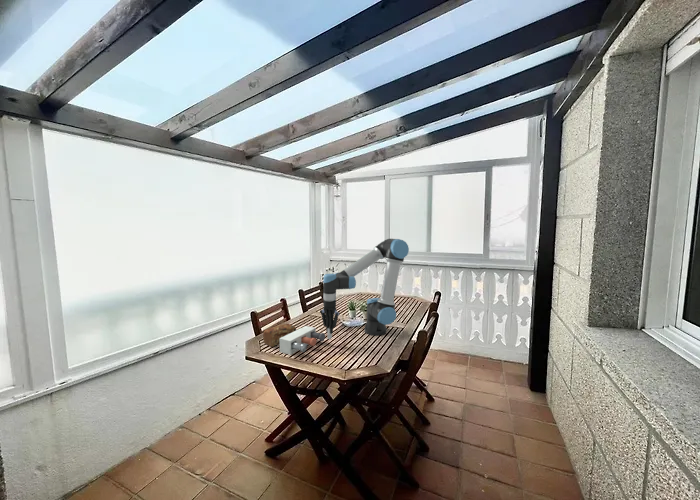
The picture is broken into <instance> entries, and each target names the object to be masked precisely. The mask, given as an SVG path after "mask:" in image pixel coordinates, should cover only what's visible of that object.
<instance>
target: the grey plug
mask: <svg viewBox="0 0 700 500" xmlns="http://www.w3.org/2000/svg"><path fill="white" fill-rule="evenodd" d="M311 338H316V340H319V341H320V342H324V341H325V339H326V333H324V332H311Z"/></svg>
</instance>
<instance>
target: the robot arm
mask: <svg viewBox="0 0 700 500" xmlns="http://www.w3.org/2000/svg"><path fill="white" fill-rule="evenodd" d="M409 252H410V247H409V245H408V243H407V242H406V241H405V240H403V239H400V238H387V239H384V240H383V241H381V242H380V243H378V244H376V246H374V247H373V250H371V251H369V252H368V253H367V254H365V255H363V256H362V257H361V258H359V259H358V260H356V261H355V262H353V263H352V264H350V265H348V266H347V267H345V268H344V269H343V270H341V271H340V272H335V273H325V274H324V275H323V282H322V283H323V294H322V295H323V296H322V297H323V303H322V304H323V309H321V310H319V313H320V315H321V320H322V324H323V327H325V330H326V333H327V334H326V336H327V337H326V338H327V339H328V340H331V339H332V338H333V333H334V328H336V326H337V324H338V318H339V316H340V314H341V312H339V311H337V308H336V307H337V290H351V289H352V290H353V289H355V288H356V286H357V281H356V276H357V275H359V274H360V273H362V272H363V271H365V270H366V269H368V268H369V267H371V265H374V264H375V263H376V262H377V261H379V260H383V259H385V260H386V265H385V271H384V276H383V281H382V285H381V292H380V297H372V298H367V300H366V323H365V325H364V330H363V331H364V333H365V334H367V335H369V336H382V335H385V334H387V326H388V325H391V324H393V322H395V320H396V318H397V312H396V309H395V307H396V303H395V301H394V300H395V294H396V289H397V284H398V279H399V274H400V273H399V272H400V267H401V264H403V263H404V262H405V261H404V260H405V258H406V257H407V256H408V255H409ZM386 325H387V326H386Z"/></svg>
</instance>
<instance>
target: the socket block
mask: <svg viewBox="0 0 700 500" xmlns="http://www.w3.org/2000/svg"><path fill="white" fill-rule="evenodd" d="M316 331H317V330H316V327H313V326H309V325H304V326H303V327H301V328H299V329H296V331H294V332H292V333H290V334H288V335H286V336H284V337H281V338H279V340H280V345H279V352H280V353H281V354H285V355H290V356H291V355H293V354H294V353H296V352H299V350H297V349H293V348H291V343H292V342H297V343H301V337H308V338H311V332H316ZM316 333H317V332H316ZM301 344H303V343H301ZM307 346H309V344H307Z"/></svg>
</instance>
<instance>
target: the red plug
mask: <svg viewBox="0 0 700 500" xmlns="http://www.w3.org/2000/svg"><path fill="white" fill-rule="evenodd" d="M301 343H305V344H308V345H310V346H311V347H316V345H317V339H316V338H308V337H301Z"/></svg>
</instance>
